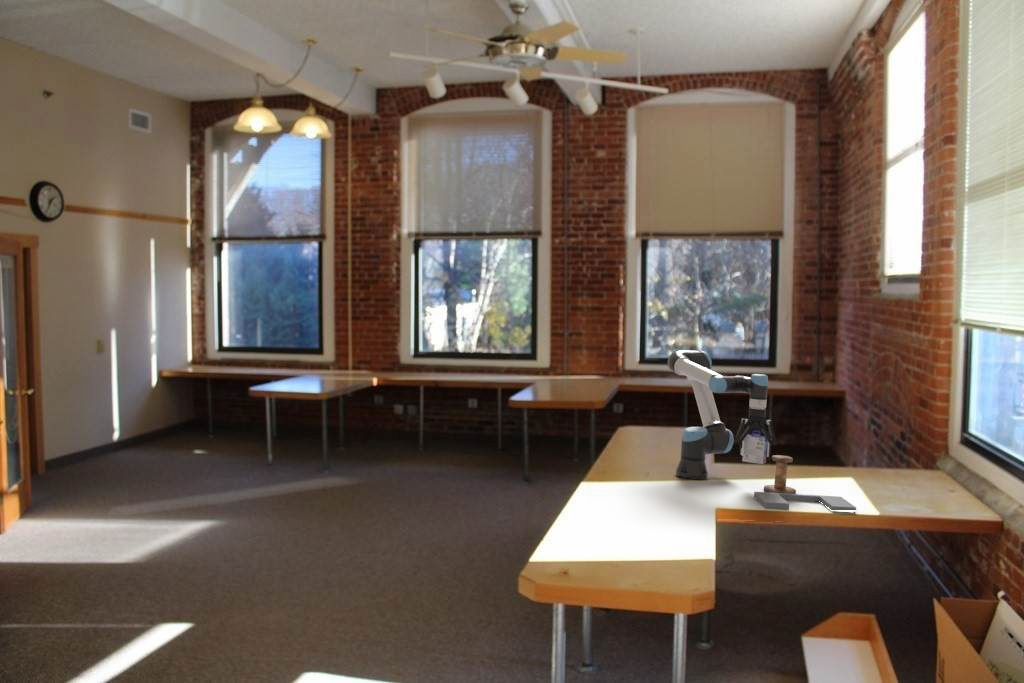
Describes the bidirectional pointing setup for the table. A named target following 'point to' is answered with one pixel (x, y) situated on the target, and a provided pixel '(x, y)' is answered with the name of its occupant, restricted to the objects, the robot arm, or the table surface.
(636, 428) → the table surface
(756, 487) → the table surface
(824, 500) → the notched board
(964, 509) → the table surface
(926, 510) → the table surface
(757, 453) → the ink cartridge box
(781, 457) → the bobbin
